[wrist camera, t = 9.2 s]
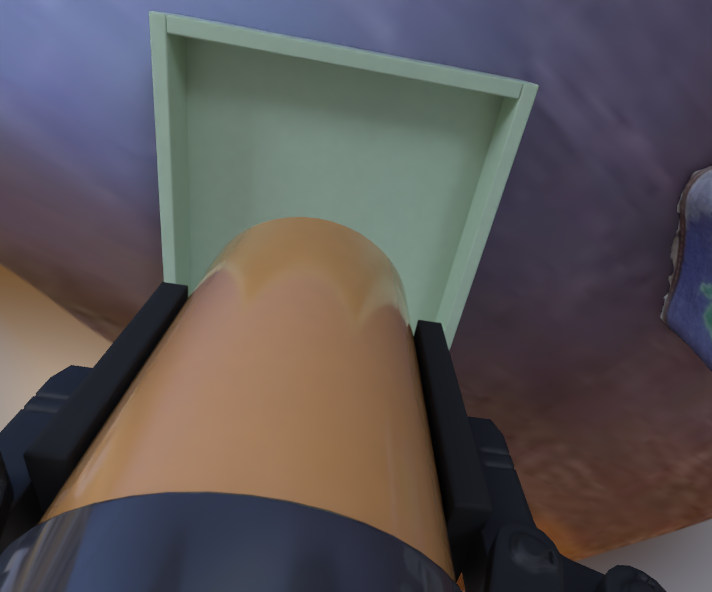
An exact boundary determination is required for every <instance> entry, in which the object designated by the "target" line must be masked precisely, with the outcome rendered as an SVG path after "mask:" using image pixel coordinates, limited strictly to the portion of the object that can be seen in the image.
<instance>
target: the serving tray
mask: <svg viewBox="0 0 712 592" xmlns="http://www.w3.org/2000/svg"><path fill="white" fill-rule="evenodd" d="M149 22H150V40H151V58H152V76H153V94H154V112H155V130H156V148H157V165H158V183H159V201H160V219H161V237H162V255H163V273H164V282H167V283H174V284H180V285H187V286H188V298H189V296H190V295H191V293H192V292H193V290H194V289H195V287H196V286H197V284H198V283H199V281H200V280H201V278H202V277H203V275H204V274H205V272H206V271H207V269H208V268H209V266H210V265H211V263H212V262H213V260H214V259H215V257H216V256H217V254H218V253H219V252H220V251H221V250H222V248H223V247H224V246H225V245H226V244H227V243H228V242H229V241H231V240H232V239H233V238H234V237H235V236H237V235H238V234H240V233H242V232H243V231H245V230H246V229H249V228H251V227H253V226H255V225H258V224H260V223H263V222H267V221H270V220H273V219H280V218H286V217H310V218H319V219H323V220H328V221H332V222H335V223H338V224H341V225H343V226H346V227H348V228H350V229H352V230H354V231H356V232H358V233H360V234H362V235H363V236H365V237H366V238H367V239H369V240H370V241H372V242H373V243H374V244H375V245H376V246H377V247H379V248H380V249H381V250H382V251H383V252H384V253H385V255H386V256H387V257H388V258H389V259H390V260H391V262H392V263H393V265H394V267H395V268H396V270H397V271H398V273H399V275H400V278H401V280H402V282H403V285H404V289H405V292H406V296H407V302H408V308H409V314H410V319H411V325H412V331H413V336H414V333H415V329H416V326H417V322H418V320H424V321H431V322H438V323H441V324H442V327H443V331H444V335H445V338H446V342H447V345H448V349H449V350H450V347H451V345H452V342H453V339H454V336H455V333H456V330H457V327H458V324H459V321H460V318H461V315H462V312H463V309H464V306H465V303H466V300H467V297H468V294H469V291H470V289H471V286H472V283H473V280H474V277H475V274H476V271H477V268H478V265H479V262H480V259H481V256H482V253H483V250H484V247H485V244H486V241H487V238H488V235H489V233H490V230H491V227H492V224H493V221H494V218H495V215H496V212H497V209H498V206H499V203H500V200H501V197H502V194H503V191H504V188H505V185H506V182H507V179H508V176H509V174H510V171H511V168H512V165H513V162H514V159H515V156H516V153H517V150H518V147H519V144H520V141H521V138H522V135H523V132H524V129H525V126H526V123H527V120H528V118H529V115H530V112H531V109H532V106H533V103H534V100H535V97H536V94H537V91H538V88H539V85H537V84H534V83H530V82H527V81H524V80H520V79H516V78H510V77H505V76H500V75H495V74H489V73H484V72H479V71H474V70H468V69H463V68H458V67H453V66H447V65H442V64H437V63H432V62H426V61H421V60H416V59H411V58H406V57H400V56H395V55H390V54H385V53H379V52H374V51H369V50H364V49H358V48H353V47H348V46H343V45H337V44H332V43H327V42H322V41H317V40H311V39H306V38H301V37H296V36H290V35H285V34H280V33H275V32H269V31H264V30H259V29H254V28H248V27H243V26H238V25H233V24H228V23H222V22H217V21H212V20H207V19H201V18H196V17H191V16H186V15H180V14H175V13H166V12H157V11H149Z"/></svg>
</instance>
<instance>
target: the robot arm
mask: <svg viewBox="0 0 712 592" xmlns="http://www.w3.org/2000/svg"><path fill="white" fill-rule="evenodd" d="M187 299H188V286H187V285H180V284H174V283H167V282H162V284H161V285H160V286H159V287H158V289H157V290H156V291H155V292H154V293H153V295H152V296H151V297H150V298H149V300H148V301H147V302H146V303H145V305H144V306H143V307H142V308H141V309H140V311H139V312H138V313H137V314H136V316H135V317H134V318H133V319H132V321H131V322H130V323H129V324H128V325H127V327H126V328H125V329H124V330H123V332H122V333H121V334H120V335H119V337H118V338H117V339H116V340H115V341H114V343H113V344H112V345H111V346H110V348H109V349H108V350H107V351H106V353H105V354H104V355H103V356H102V358H101V359H100V360H99V361H98V363H97V364H96V365H95V366H94V367H93V368H88V367H81V366H74V365H71V366H69V367H68V368H66V369H64V370H63V371H61V372H59V373H57V374H56V375H54V376H53V377H50V379H49V380H48V381H47V382H46V383H45V384H44V385H43V386H42V387H41V388H40V389H39V391H38V392H37V393H36V396H35V397H34V396H33V397H32V398H31V399H30V400H29V401H28V403H27V404H26V405H25V406H24V409H23V410H22V409H21V410H20V411H19V413H18V414H17V415H16V416H15V417H14V418H13V419H12V420H11V421H10V422H9V423H8V424H7V426H6V427H5V428H4V429H3V430H2V431H1V432H0V554H1V553H2V552H3V551H4V550H5V549H6V548H7V547H8V546H9V545H10V544H11V543H12V542H13V541H15V540H16V539H17V538H19V537H20V536H22V535H23V534H25V533H26V532H27V531H29V530H30V529H32V528H33V527H35V526H36V525H38V523H39V522H40V520H41V519H42V517H43V516H44V514H45V513H46V511H47V510H48V508H49V507H50V505H51V504H52V502H53V501H54V499H55V498H56V496H57V495H58V493H59V492H60V490H61V489H62V487H63V486H64V484H65V482H66V481H67V479H68V478H69V476H70V475H71V473H72V472H73V470H74V469H75V467H76V466H77V464H78V463H79V461H80V460H81V458H82V457H83V455H84V454H85V452H86V451H87V449H88V448H89V446H90V445H91V443H92V442H93V440H94V439H95V437H96V436H97V434H98V433H99V431H100V430H101V428H102V427H103V425H104V424H105V422H106V421H107V419H108V418H109V416H110V415H111V413H112V412H113V410H114V409H115V407H116V406H117V404H118V403H119V401H120V400H121V398H122V397H123V395H124V394H125V392H126V391H127V389H128V388H129V386H130V385H131V383H132V382H133V380H134V379H135V377H136V376H137V374H138V373H139V371H140V370H141V368H142V367H143V365H144V364H145V362H146V361H147V359H148V358H149V356H150V355H151V353H152V352H153V350H154V349H155V347H156V346H157V344H158V343H159V341H160V340H161V338H162V337H163V335H164V334H165V332H166V331H167V329H168V328H169V326H170V325H171V323H172V322H173V320H174V319H175V317H176V316H177V314H178V313H179V311H180V310H181V308H182V307H183V305H184V304H185V302H186V301H187ZM413 337H414V343H415V348H416V354H417V360H418V366H419V371H420V377H421V383H422V389H423V395H424V400H425V406H426V412H427V418H428V423H429V429H430V435H431V441H432V447H433V452H434V458H435V464H436V470H437V475H438V481H439V487H440V493H441V499H442V504H443V510H444V516H445V522H446V527H447V533H448V539H449V545H450V551H451V556H452V562H453V568H454V574H455V579H456V582H457V580H458V578H459V576H460V574H461V572H462V575H463V580H464V585H465V591H466V592H666V591H665V590H664V589H663V588H662V587H661V586H660V584H659V583H658V582H657V581H656V580H654V579H653V578H651V577H650V576H649V575H647V574H646V573H644V572H643V571H641V570H638V569H636V568H633V567H631V566H624V565H617V566H615V567H613V568H611V569H610V570H608V572H607V573H606V574H605V575H604V574H602V573H600V572H597V571H595V570H593V569H590V568H588V567H586V566H583V565H581V564H579V563H576V562H574V561H572V560H570V559H568V558H566V557H564V556H563V555H561V554H560V553H559V551H558V549H557V548H556V546H555V544H554V543H553V541H552V540H551V539H550V538H549V537H548V536H547V535H546V534H545V533H544V532H542V531H541V530H539V529H538V528H537V527H536V525H535V523H534V521H533V518H532V515H531V512H530V509H529V507H528V504H527V501H526V498H525V495H524V492H523V490H522V487H521V484H520V481H519V478H518V476H517V473H516V470H514V464H513V461H512V459H511V456H510V455H509V450H508V447H507V445H506V442H505V439H504V436H503V434H502V433H501V432H500V431H499V429H498V428H497V427H496V426H495V424H494V423H493V422H492V421H491V420H490V419H482V418H475V417H467V414H466V410H465V407H464V403H463V399H462V396H461V392H460V389H459V385H458V381H457V378H456V374H455V371H454V367H453V363H452V360H451V356H450V353H449V349H448V345H447V342H446V338H445V335H444V331H443V327H442V324H441V323H438V322H431V321H424V320H418V322H417V326H416V329H415V333H414V336H413Z"/></svg>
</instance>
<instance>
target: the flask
mask: <svg viewBox="0 0 712 592" xmlns="http://www.w3.org/2000/svg"><path fill="white" fill-rule="evenodd" d="M677 212H678V213H679V212H680V215H681V216H680V220H679V225H678V230H677V231H676V233H677V234H676V236H675V237H674V239H673V245H672V247H671V248H670V249H671V255H670V257H671V260H673V262H672V263H673V265H674V267H675V268H674V272H673V275H671V276H669V277H667V278H668V279H669V282H670V290H669V292H668V293H667V295H666V296H664V298H665V302H664V306H663V310H662V313H661V316H660V317H661V319H662V321H663V322H664V323H665V324H666V325H667V326H668V327H669V329H671V330H672V331H673V332H674V333H676V334H677V335H678V336H679V337H680V338H681V339H682V340H683V341H684V342H686V343H687V344H688V345H689V346H690V347H691V348H692V350H693V351H694V352H695V353H696V354H697V355H698V356H699V357H700V359H701V360H702V361H703V362H704V363H705V364H706V366H707V367H708V368H709V369H710V370H711V371H712V166H709V167H707V168H704V169H702V170H698V171H695V172H694V173H693V174H692V176H691V178H690V180H689V182H688V183H687V185H686V187H685V189H684V191H683V192H682V194H681V197H680V200H679V203H678V205H677Z"/></svg>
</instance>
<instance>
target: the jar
mask: <svg viewBox="0 0 712 592" xmlns="http://www.w3.org/2000/svg"><path fill="white" fill-rule="evenodd" d="M0 592H462V591H461V590H460V588H459V586H458V585H457V584H456V579H455V574H454V568H453V562H452V556H451V551H450V545H449V539H448V533H447V527H446V522H445V516H444V510H443V504H442V499H441V493H440V487H439V481H438V475H437V470H436V464H435V458H434V452H433V447H432V441H431V435H430V429H429V423H428V418H427V412H426V406H425V400H424V395H423V389H422V383H421V377H420V371H419V366H418V360H417V354H416V348H415V343H414V337H413V331H412V325H411V319H410V314H409V308H408V302H407V296H406V292H405V289H404V285H403V282H402V280H401V278H400V275H399V273H398V271H397V270H396V268H395V267H394V265H393V263H392V262H391V260H390V259H389V258H388V257H387V256H386V255H385V253H384V252H383V251H382V250H381V249H380V248H379V247H377V246H376V245H375V244H374V243H373V242H372V241H370V240H369V239H367V238H366V237H365V236H363V235H362V234H360V233H358V232H356V231H354V230H352V229H350V228H348V227H346V226H343V225H341V224H338V223H335V222H332V221H328V220H323V219H319V218H310V217H286V218H280V219H273V220H270V221H267V222H263V223H260V224H258V225H255V226H253V227H251V228H249V229H246V230H245V231H243V232H242V233H240V234H238V235H237V236H235V237H234V238H233V239H232V240H231V241H229V242H228V243H227V244H226V245H225V246H224V247H223V248H222V250H221V251H220V252H219V253H218V254H217V256H216V257H215V259H214V260H213V262H212V263H211V265H210V266H209V268H208V269H207V271H206V272H205V274H204V275H203V277H202V278H201V280H200V281H199V283H198V284H197V286H196V287H195V289H194V290H193V292H192V293H191V295H190V296H189V298H188V299H187V301H186V302H185V304H184V305H183V307H182V308H181V310H180V311H179V313H178V314H177V316H176V317H175V319H174V320H173V322H172V323H171V325H170V326H169V328H168V329H167V331H166V332H165V334H164V335H163V337H162V338H161V340H160V341H159V343H158V344H157V346H156V347H155V349H154V350H153V352H152V353H151V355H150V356H149V358H148V359H147V361H146V362H145V364H144V365H143V367H142V368H141V370H140V371H139V373H138V374H137V376H136V377H135V379H134V380H133V382H132V383H131V385H130V386H129V388H128V389H127V391H126V392H125V394H124V395H123V397H122V398H121V400H120V401H119V403H118V404H117V406H116V407H115V409H114V410H113V412H112V413H111V415H110V416H109V418H108V419H107V421H106V422H105V424H104V425H103V427H102V428H101V430H100V431H99V433H98V434H97V436H96V437H95V439H94V440H93V442H92V443H91V445H90V446H89V448H88V449H87V451H86V452H85V454H84V455H83V457H82V458H81V460H80V461H79V463H78V464H77V466H76V467H75V469H74V470H73V472H72V473H71V475H70V476H69V478H68V479H67V481H66V482H65V484H64V486H63V487H62V489H61V490H60V492H59V493H58V495H57V496H56V498H55V499H54V501H53V502H52V504H51V505H50V507H49V508H48V510H47V511H46V513H45V514H44V516H43V517H42V519H41V520H40V522H39V523H38V525H36V526H35V527H33V528H32V529H30V530H29V531H27V532H26V533H25V534H23V535H22V536H20V537H19V538H17V539H16V540H15V541H13V542H12V543H11V544H10V545H9V546H8V547H7V548H6V549H5V550H4V551H3V552H2V553H1V554H0Z"/></svg>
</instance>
